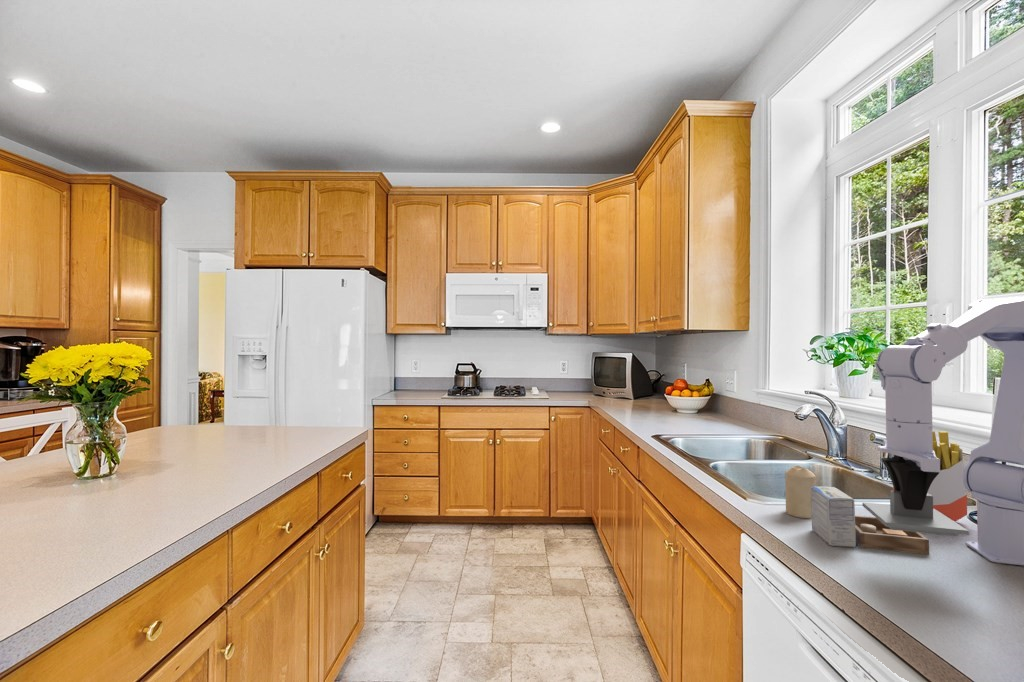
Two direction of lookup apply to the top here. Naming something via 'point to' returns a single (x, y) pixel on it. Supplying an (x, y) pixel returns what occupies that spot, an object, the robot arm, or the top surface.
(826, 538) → the medicine box
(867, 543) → the box
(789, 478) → the candle
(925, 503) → the lid
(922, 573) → the top surface
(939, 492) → the french fries container
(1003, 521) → the robot arm
